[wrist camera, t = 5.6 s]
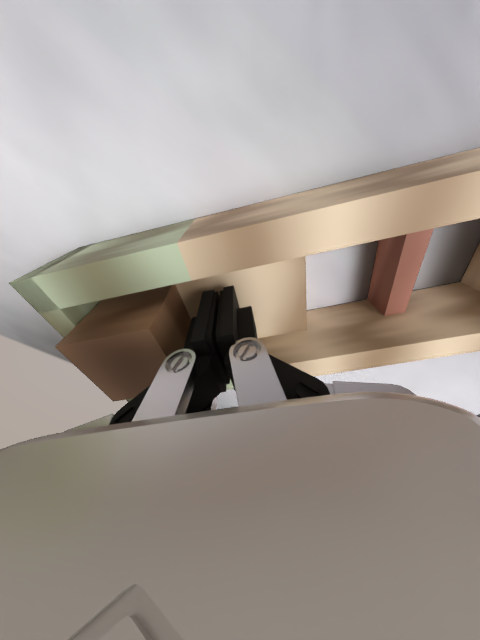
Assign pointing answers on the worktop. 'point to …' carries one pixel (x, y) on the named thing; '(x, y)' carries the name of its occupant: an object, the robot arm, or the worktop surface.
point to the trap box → (300, 268)
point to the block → (128, 340)
